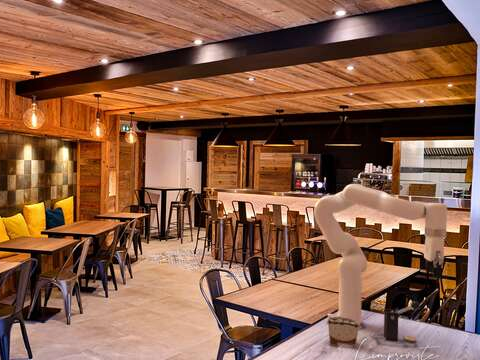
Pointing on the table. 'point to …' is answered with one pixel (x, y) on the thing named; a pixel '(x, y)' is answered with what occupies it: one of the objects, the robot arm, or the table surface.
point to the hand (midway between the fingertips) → (433, 274)
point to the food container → (342, 330)
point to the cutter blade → (409, 307)
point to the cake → (409, 339)
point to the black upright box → (390, 325)
